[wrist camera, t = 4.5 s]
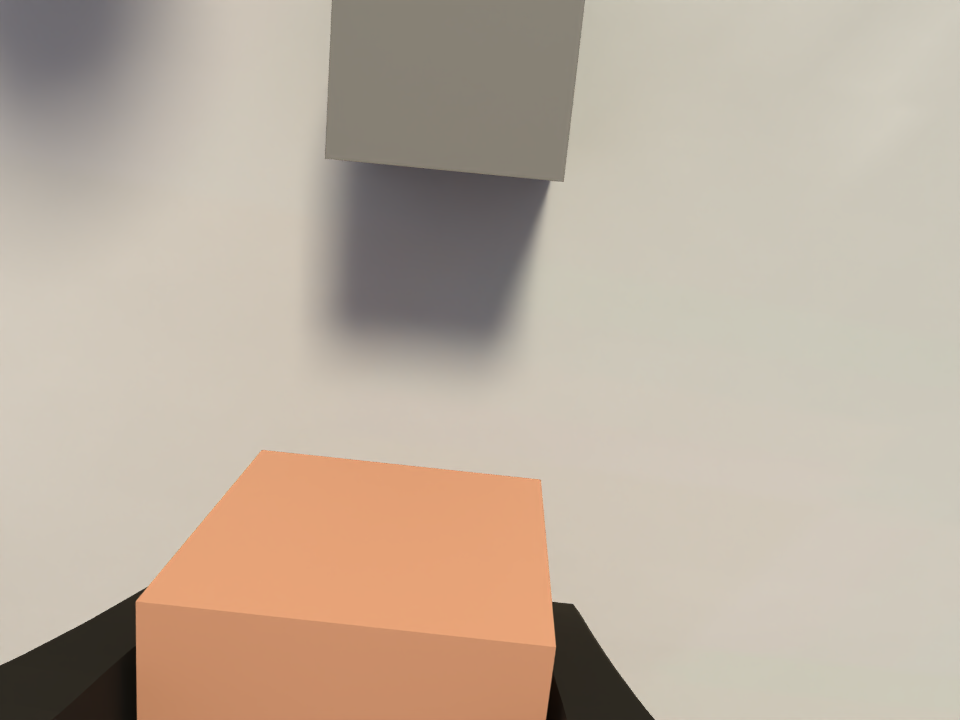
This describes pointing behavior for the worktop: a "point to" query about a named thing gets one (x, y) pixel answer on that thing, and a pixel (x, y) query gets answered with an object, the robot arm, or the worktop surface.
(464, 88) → the gray cube
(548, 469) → the worktop surface
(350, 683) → the terracotta cube
